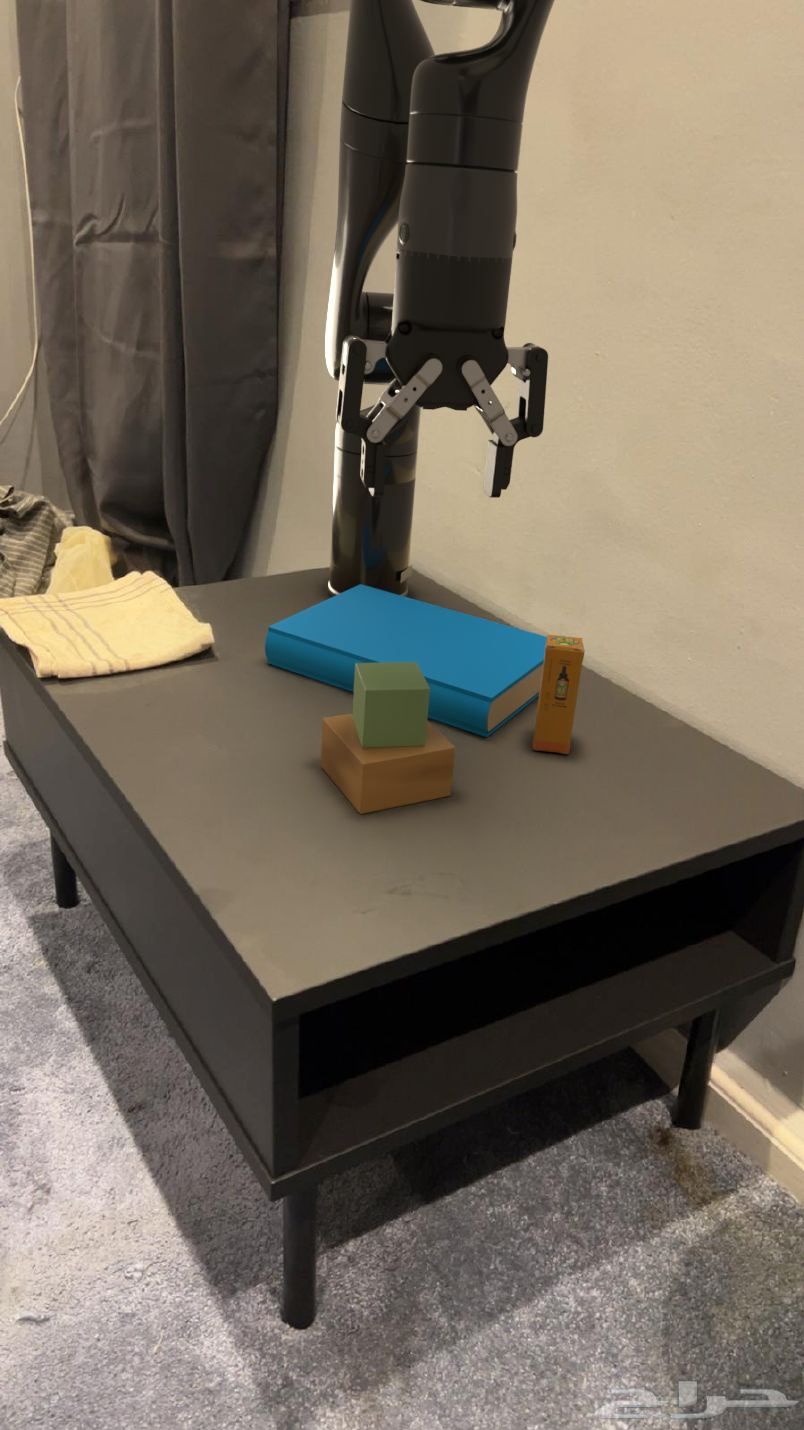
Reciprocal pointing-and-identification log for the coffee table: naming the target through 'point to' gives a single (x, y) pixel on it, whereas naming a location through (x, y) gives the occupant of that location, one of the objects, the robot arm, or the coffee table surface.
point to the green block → (390, 704)
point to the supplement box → (558, 693)
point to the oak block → (385, 767)
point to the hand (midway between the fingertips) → (433, 494)
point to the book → (416, 653)
